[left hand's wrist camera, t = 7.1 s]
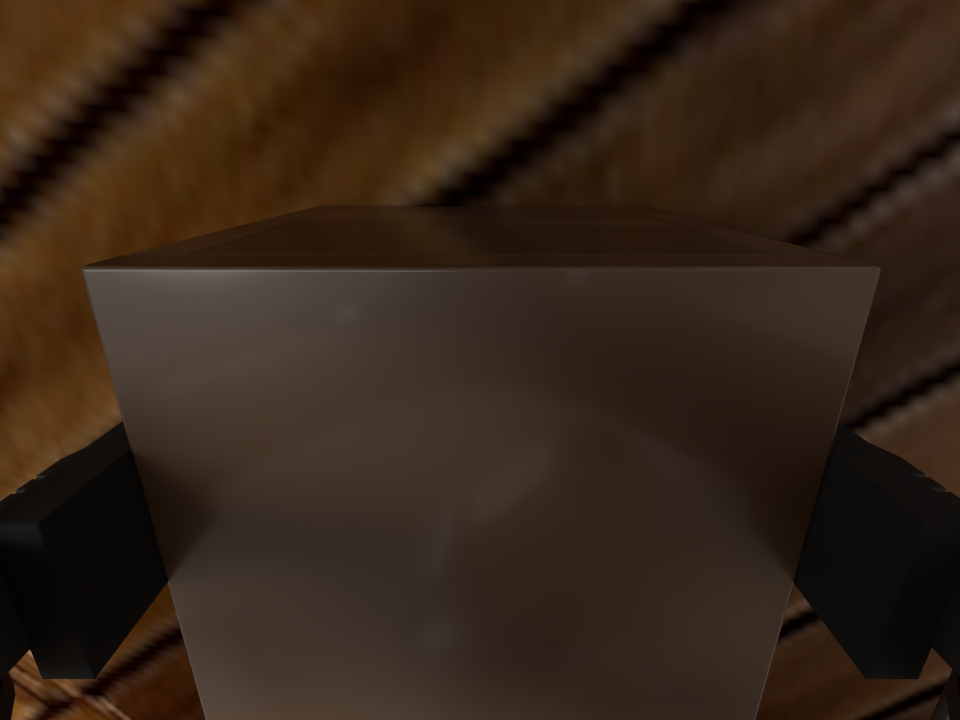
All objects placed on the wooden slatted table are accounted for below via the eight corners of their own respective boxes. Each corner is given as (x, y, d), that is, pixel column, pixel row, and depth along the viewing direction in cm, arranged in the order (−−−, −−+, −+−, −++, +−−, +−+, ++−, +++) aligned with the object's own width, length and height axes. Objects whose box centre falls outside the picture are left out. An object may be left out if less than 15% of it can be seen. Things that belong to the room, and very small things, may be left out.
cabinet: (604, 582, 23) (702, 915, 13) (357, 581, 23) (257, 912, 13) (646, 206, 17) (884, 266, 7) (316, 206, 17) (77, 265, 7)
